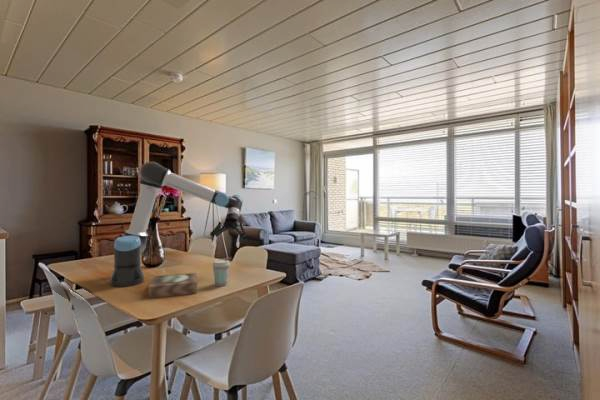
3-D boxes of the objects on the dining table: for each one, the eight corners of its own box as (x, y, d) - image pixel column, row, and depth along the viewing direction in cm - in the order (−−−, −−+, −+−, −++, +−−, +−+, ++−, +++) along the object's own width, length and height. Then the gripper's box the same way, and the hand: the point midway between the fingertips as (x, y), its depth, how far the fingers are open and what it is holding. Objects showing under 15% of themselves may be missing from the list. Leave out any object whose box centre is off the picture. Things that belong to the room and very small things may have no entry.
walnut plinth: (148, 297, 131) (148, 285, 131) (153, 286, 147) (153, 275, 147) (196, 293, 138) (196, 281, 138) (195, 282, 155) (195, 272, 155)
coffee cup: (225, 287, 146) (225, 263, 146) (209, 286, 148) (209, 262, 148) (232, 282, 155) (232, 259, 155) (217, 281, 156) (217, 258, 156)
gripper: (254, 220, 179) (248, 250, 164) (213, 220, 180) (204, 250, 166) (252, 212, 173) (246, 242, 159) (210, 212, 175) (200, 242, 160)
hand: (225, 246), depth 162 cm, fingers open, 13 cm apart
